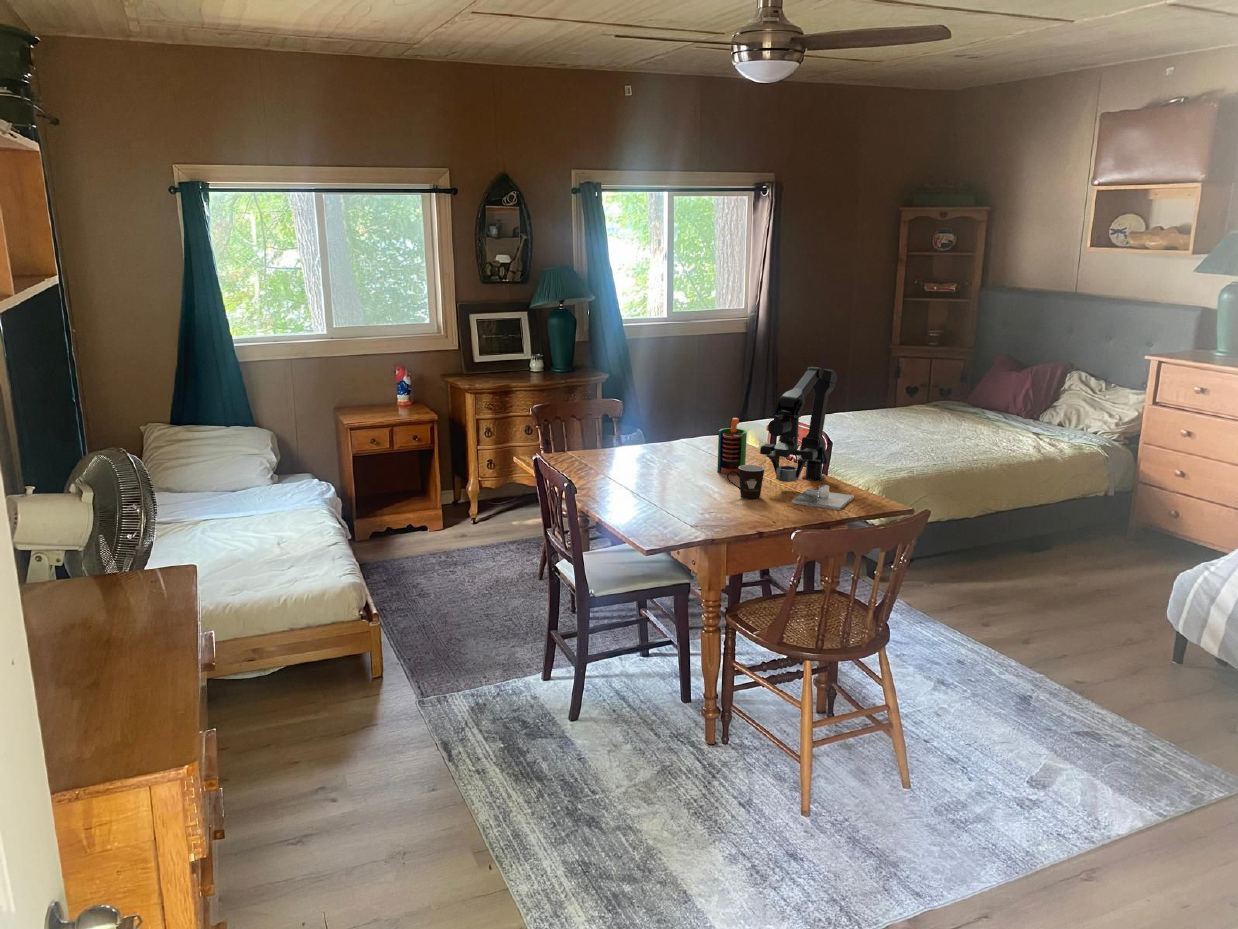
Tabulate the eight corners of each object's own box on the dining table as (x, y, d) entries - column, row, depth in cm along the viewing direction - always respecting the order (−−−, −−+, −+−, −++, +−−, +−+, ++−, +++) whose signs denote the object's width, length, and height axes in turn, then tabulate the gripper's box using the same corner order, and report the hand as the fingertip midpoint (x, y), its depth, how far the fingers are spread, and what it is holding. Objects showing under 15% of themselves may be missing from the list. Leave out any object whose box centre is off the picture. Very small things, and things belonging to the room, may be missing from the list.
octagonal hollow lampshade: (780, 475, 328) (781, 464, 327) (800, 478, 325) (800, 467, 324) (773, 480, 322) (774, 468, 321) (793, 482, 319) (794, 471, 318)
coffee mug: (767, 495, 317) (768, 467, 314) (757, 501, 310) (758, 472, 307) (735, 490, 322) (736, 462, 320) (724, 496, 315) (726, 467, 313)
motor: (716, 474, 345) (717, 420, 340) (719, 468, 353) (721, 416, 348) (743, 476, 342) (746, 422, 338) (746, 470, 351) (748, 417, 346)
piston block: (807, 491, 322) (808, 477, 321) (853, 498, 314) (854, 483, 313) (791, 503, 308) (792, 488, 307) (839, 510, 301) (840, 495, 300)
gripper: (755, 432, 317) (753, 477, 321) (808, 439, 308) (806, 485, 312) (766, 427, 326) (764, 470, 330) (819, 433, 318) (816, 477, 321)
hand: (787, 476), depth 323 cm, fingers closed on octagonal hollow lampshade, 7 cm apart
